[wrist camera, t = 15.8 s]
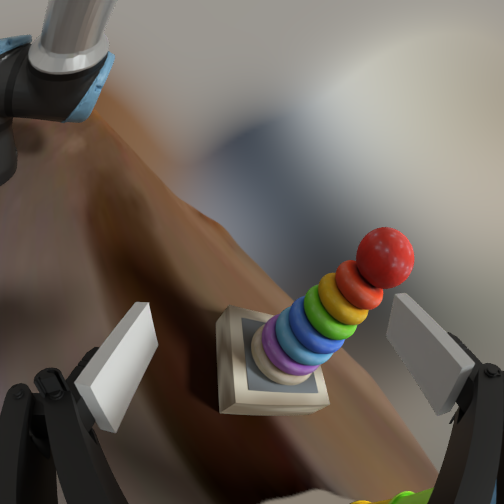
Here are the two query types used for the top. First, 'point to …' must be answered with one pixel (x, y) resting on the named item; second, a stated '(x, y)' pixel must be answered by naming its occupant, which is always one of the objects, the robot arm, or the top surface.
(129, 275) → the top surface
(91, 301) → the top surface
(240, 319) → the plinth
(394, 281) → the stacking toy
